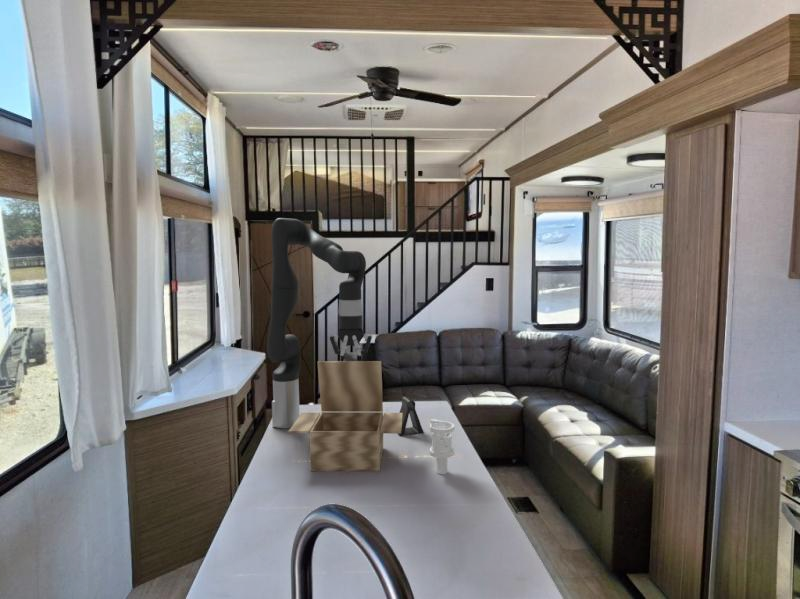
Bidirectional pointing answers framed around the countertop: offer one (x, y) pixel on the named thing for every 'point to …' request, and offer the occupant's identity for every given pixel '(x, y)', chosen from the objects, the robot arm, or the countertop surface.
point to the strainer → (441, 444)
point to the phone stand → (407, 409)
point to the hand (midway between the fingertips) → (351, 366)
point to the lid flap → (350, 385)
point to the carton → (347, 438)
